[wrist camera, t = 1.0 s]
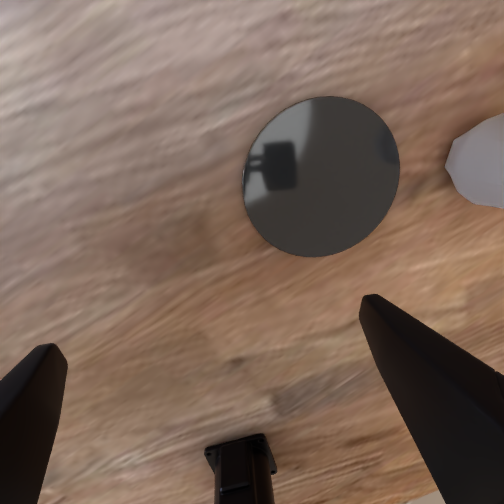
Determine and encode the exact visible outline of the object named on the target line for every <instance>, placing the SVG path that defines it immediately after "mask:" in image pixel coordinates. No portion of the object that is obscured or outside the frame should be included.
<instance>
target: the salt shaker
mask: <svg viewBox="0 0 504 504" xmlns="http://www.w3.org/2000/svg"><path fill="white" fill-rule="evenodd" d="M444 167H445V168H446V170H447V171H448V173H449V174H450V176H451V178H452V180H453V183H454V185H455V188H456V190H457V192H458V193H460V194H461V195H462V196H464V197H465V198H466V199H467V200H469V201H470V202H472V203H473V204H477V205H484V206H491V207H498V208H504V113H502V114H499V115H497V116H494V117H491V118H489V119H486V120H484V121H483V122H481V123H480V124H478V125H477V126H475V127H474V128H472V129H471V130H469V131H468V132H466V133H465V134H463V135H461V136H460V137H458V138H456V139H455V140H454V141H453V144H452V147H451V149H450V152H449V155H448V158H447V161H446V164H445V166H444Z"/></svg>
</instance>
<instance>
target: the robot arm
mask: <svg viewBox="0 0 504 504" xmlns="http://www.w3.org/2000/svg"><path fill="white" fill-rule="evenodd" d="M359 320H360V323H361V326H362V328H363V331H364V334H365V336H366V339H367V342H368V344H369V347H370V350H371V352H372V355H373V358H374V360H375V363H376V365H377V368H378V370H379V372H380V374H381V376H382V378H383V380H384V382H385V384H386V386H387V388H388V390H389V392H390V394H391V396H392V398H393V400H394V402H395V404H396V406H397V408H398V410H399V412H400V414H401V416H402V418H403V420H404V422H405V424H406V425H407V427H408V429H409V431H410V433H411V435H412V437H413V439H414V441H415V443H416V445H417V447H418V449H419V451H420V453H421V455H422V457H423V459H424V461H425V463H426V465H427V467H428V469H429V471H430V473H431V475H432V477H433V479H434V481H435V483H436V485H437V487H438V489H439V491H440V493H441V495H442V497H443V499H444V501H445V503H446V504H504V375H502V374H501V373H499V372H497V371H496V372H495V370H494V369H493V368H491V367H490V366H488V365H487V364H485V363H484V362H482V361H480V360H479V359H477V358H476V357H474V356H473V355H471V354H470V353H468V352H467V351H465V350H463V349H462V348H460V347H459V346H457V345H456V344H454V343H453V342H451V341H450V340H448V339H446V338H445V337H443V336H442V335H440V334H439V333H437V332H436V331H434V330H432V329H431V328H429V327H428V326H426V325H425V324H423V323H422V322H420V321H419V320H417V319H415V318H414V317H412V316H411V315H409V314H408V313H406V312H405V311H403V310H402V309H400V308H398V307H397V306H395V305H394V304H392V303H391V302H389V301H388V300H386V299H385V298H383V297H381V296H380V295H378V294H371V295H365V296H364V297H363V298H362V302H361V306H360V311H359ZM67 369H68V364H67V360H66V358H65V357H64V355H63V354H62V352H61V351H60V349H59V348H58V346H57V345H56V344H54V343H49V344H43V345H39V346H37V347H35V348H34V349H33V350H32V351H31V352H30V353H29V354H28V355H27V356H26V357H25V358H24V359H23V360H22V361H20V362H19V363H18V364H17V365H16V366H15V367H14V368H13V369H12V370H11V371H10V372H9V373H8V374H7V375H6V376H5V377H4V378H3V379H2V380H1V381H0V504H37V502H38V499H39V495H40V491H41V488H42V484H43V480H44V476H45V473H46V469H47V465H48V462H49V458H50V454H51V451H52V447H53V443H54V440H55V436H56V432H57V428H58V424H59V419H60V414H61V408H62V401H63V395H64V389H65V382H66V376H67ZM204 455H205V457H206V459H207V461H208V463H209V465H210V467H211V469H212V470H213V472H214V474H215V496H214V504H275V502H274V495H273V488H272V480H271V475H274V474H276V473H277V466H276V464H275V461H274V458H273V456H272V453H271V450H270V447H269V445H268V442H267V439H266V436H265V435H264V434H258V435H254V436H250V437H246V438H242V439H238V440H234V441H230V442H226V443H223V444H219V445H215V446H211V447H207V448H206V449H205V451H204Z"/></svg>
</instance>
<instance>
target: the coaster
mask: <svg viewBox="0 0 504 504" xmlns="http://www.w3.org/2000/svg"><path fill="white" fill-rule="evenodd" d="M399 175H400V162H399V154H398V150H397V146H396V143H395V140H394V138H393V135H392V133H391V131H390V130H389V128H388V126H387V125H386V124H385V122H384V121H383V120H382V119H381V118H380V117H379V116H378V115H377V114H376V113H375V112H374V111H373V110H371V109H370V108H368V107H367V106H365V105H363V104H361V103H359V102H357V101H354V100H351V99H347V98H343V97H334V96H327V97H316V98H311V99H307V100H304V101H301V102H298V103H295V104H294V105H292V106H290V107H288V108H286V109H284V110H283V111H281V112H280V113H279V114H277V115H276V116H275V117H274V118H273V119H271V120H270V121H269V122H268V123H267V124H266V125H265V127H264V128H263V129H262V130H261V131H260V132H259V134H258V136H257V137H256V139H255V140H254V142H253V144H252V146H251V148H250V150H249V152H248V155H247V158H246V161H245V164H244V169H243V175H242V194H243V199H244V204H245V208H246V211H247V214H248V216H249V218H250V220H251V222H252V224H253V225H254V227H255V228H256V230H257V231H258V232H259V234H260V235H261V236H262V237H263V238H264V239H265V240H266V241H268V242H269V243H270V244H271V245H273V246H275V247H276V248H278V249H280V250H282V251H284V252H287V253H289V254H293V255H296V256H303V257H322V256H328V255H333V254H336V253H339V252H342V251H344V250H346V249H348V248H351V247H352V246H354V245H356V244H357V243H359V242H360V241H362V240H363V239H364V238H366V237H367V236H368V235H369V234H370V233H371V232H372V231H373V230H374V229H375V228H376V227H377V226H378V225H379V224H380V222H381V221H382V220H383V218H384V217H385V215H386V214H387V212H388V210H389V208H390V206H391V205H392V202H393V200H394V197H395V194H396V191H397V187H398V182H399Z"/></svg>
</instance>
